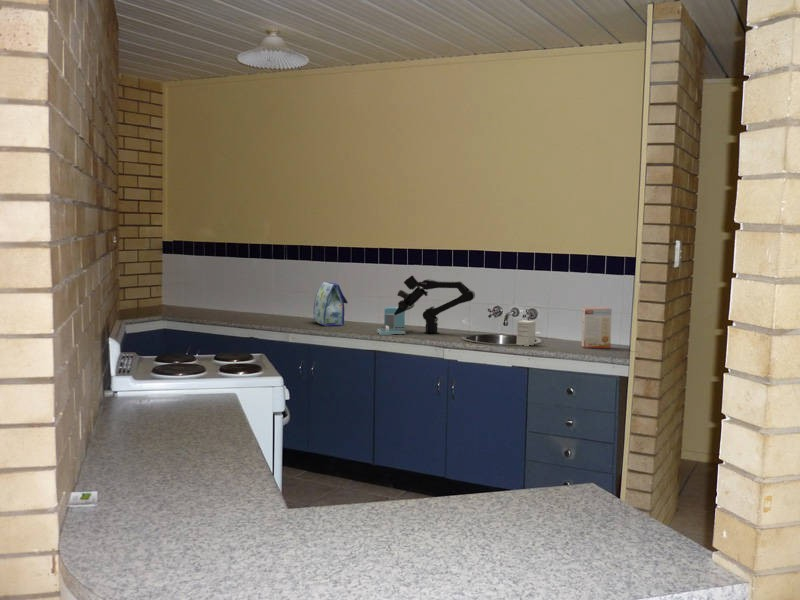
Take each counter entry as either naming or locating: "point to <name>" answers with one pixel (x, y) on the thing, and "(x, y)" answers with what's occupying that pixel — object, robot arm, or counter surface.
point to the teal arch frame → (399, 317)
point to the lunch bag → (329, 305)
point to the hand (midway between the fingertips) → (396, 313)
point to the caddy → (389, 331)
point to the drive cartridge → (390, 321)
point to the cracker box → (596, 327)
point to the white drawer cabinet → (525, 332)
